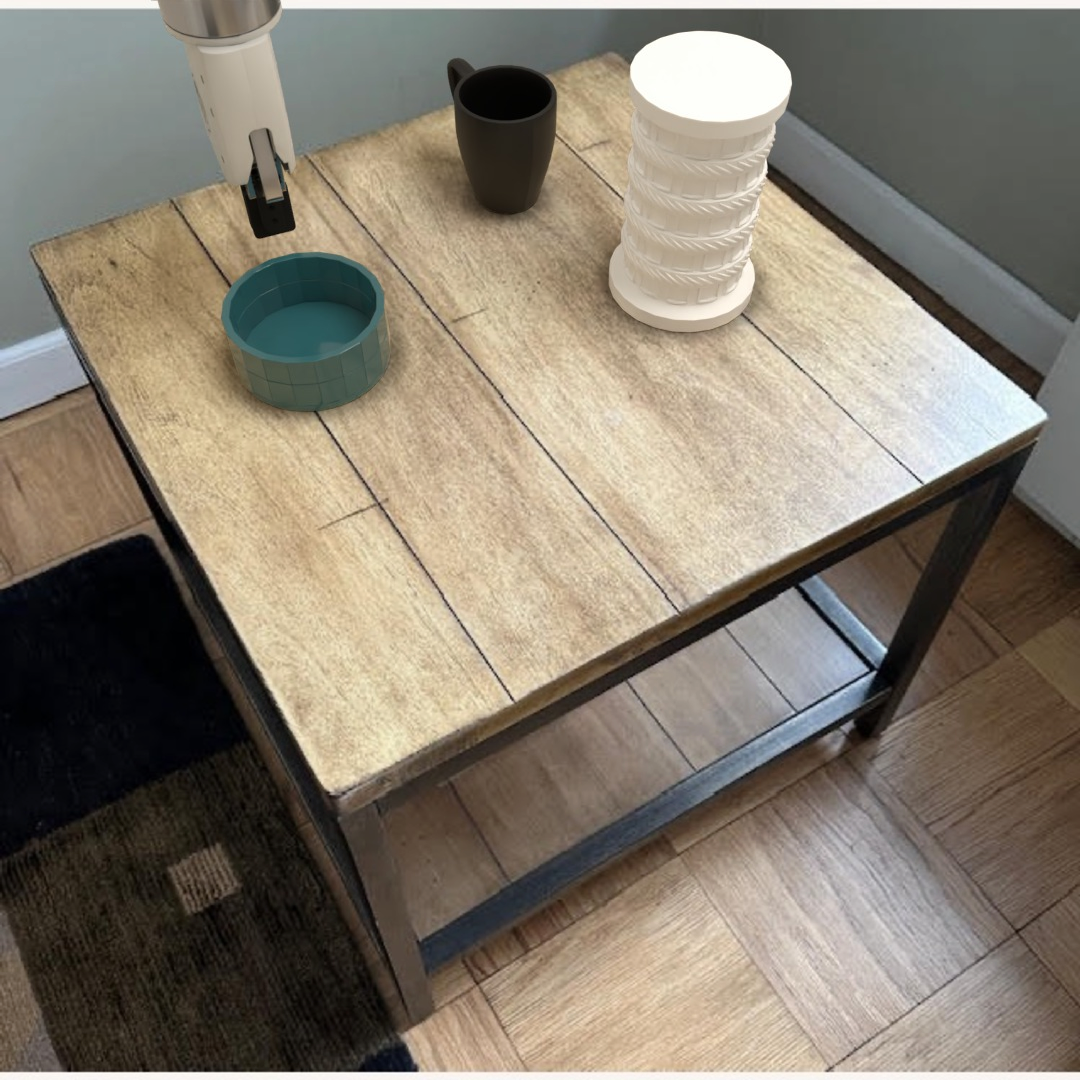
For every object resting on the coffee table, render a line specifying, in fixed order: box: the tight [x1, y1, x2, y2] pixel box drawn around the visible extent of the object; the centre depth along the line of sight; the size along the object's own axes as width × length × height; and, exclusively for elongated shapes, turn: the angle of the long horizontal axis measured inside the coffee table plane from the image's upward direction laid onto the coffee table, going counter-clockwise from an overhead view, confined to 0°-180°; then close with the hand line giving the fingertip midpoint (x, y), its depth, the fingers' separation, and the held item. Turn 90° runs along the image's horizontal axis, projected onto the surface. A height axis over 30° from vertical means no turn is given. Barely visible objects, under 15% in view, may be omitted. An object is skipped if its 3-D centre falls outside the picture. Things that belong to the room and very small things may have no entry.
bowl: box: [220, 251, 392, 412], centre depth 81 cm, size 12×12×5 cm
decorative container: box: [608, 30, 793, 333], centre depth 81 cm, size 12×12×18 cm
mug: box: [446, 57, 558, 215], centre depth 91 cm, size 8×12×10 cm
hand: (273, 228), depth 84 cm, fingers closed
